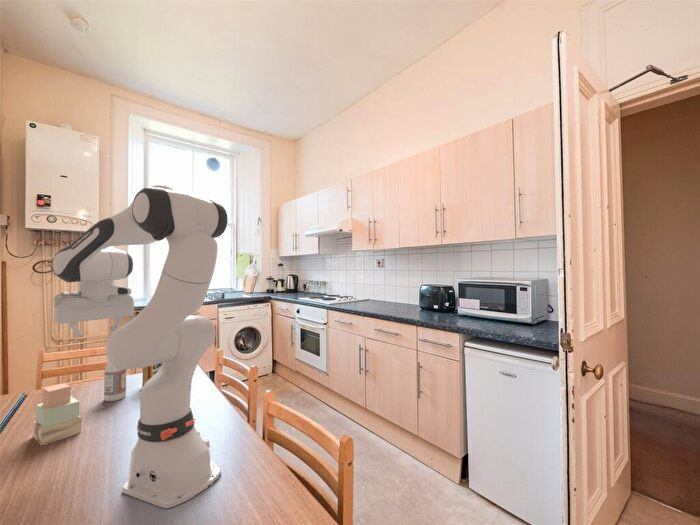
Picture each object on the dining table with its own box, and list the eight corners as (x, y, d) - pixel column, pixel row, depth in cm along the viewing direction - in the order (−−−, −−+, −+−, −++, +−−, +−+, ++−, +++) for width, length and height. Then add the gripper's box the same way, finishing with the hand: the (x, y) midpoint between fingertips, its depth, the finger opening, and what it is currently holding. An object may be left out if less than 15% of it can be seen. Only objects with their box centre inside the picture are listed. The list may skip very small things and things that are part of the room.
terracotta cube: (70, 402, 96) (70, 386, 96) (48, 408, 92) (49, 391, 92) (64, 398, 98) (64, 383, 98) (42, 404, 94) (43, 388, 94)
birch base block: (81, 432, 96) (81, 416, 96) (41, 446, 89) (42, 429, 89) (71, 425, 101) (71, 409, 101) (32, 437, 93) (33, 421, 94)
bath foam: (120, 401, 119) (121, 350, 120) (100, 402, 118) (101, 351, 118) (129, 394, 126) (130, 345, 126) (110, 395, 124) (111, 346, 125)
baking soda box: (148, 390, 130) (148, 353, 130) (142, 386, 134) (143, 350, 134) (171, 383, 137) (172, 348, 138) (165, 380, 141) (166, 346, 142)
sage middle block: (78, 417, 96) (79, 401, 96) (44, 428, 90) (44, 411, 90) (70, 410, 101) (70, 395, 101) (36, 421, 94) (36, 404, 94)
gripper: (57, 293, 87) (57, 341, 87) (136, 289, 105) (136, 329, 104) (50, 293, 91) (49, 339, 90) (127, 289, 108) (127, 328, 108)
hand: (97, 333), depth 97 cm, fingers open, 8 cm apart
